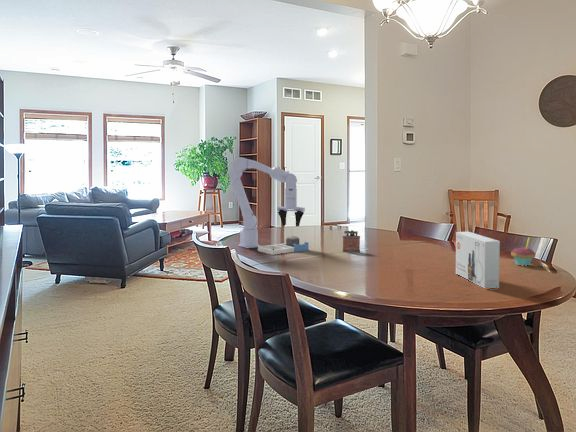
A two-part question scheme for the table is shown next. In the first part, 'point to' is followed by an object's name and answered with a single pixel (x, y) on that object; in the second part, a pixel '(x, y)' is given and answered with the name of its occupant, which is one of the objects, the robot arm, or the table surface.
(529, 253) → the cupcake
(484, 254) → the skincare box
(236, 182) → the robot arm
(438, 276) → the table surface
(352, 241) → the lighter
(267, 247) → the white cubby shelf
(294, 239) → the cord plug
